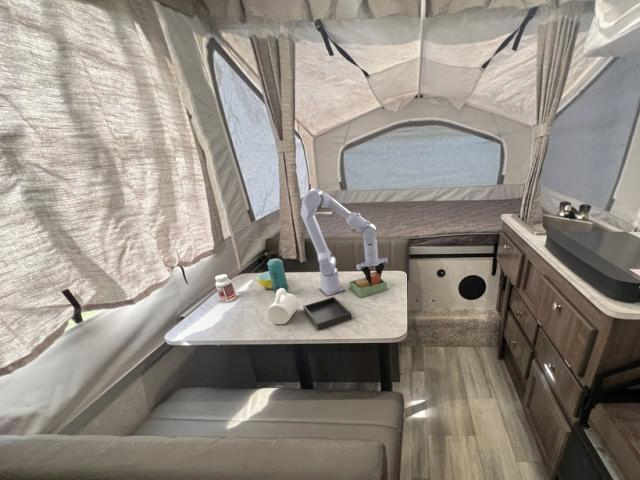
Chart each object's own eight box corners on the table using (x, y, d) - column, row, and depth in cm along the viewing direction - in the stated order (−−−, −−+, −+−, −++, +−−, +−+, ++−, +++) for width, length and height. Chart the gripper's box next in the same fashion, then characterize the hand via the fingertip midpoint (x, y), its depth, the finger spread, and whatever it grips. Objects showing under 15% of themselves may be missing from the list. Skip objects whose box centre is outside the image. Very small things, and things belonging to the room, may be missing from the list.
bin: (350, 288, 143) (349, 281, 141) (375, 281, 149) (375, 274, 147) (361, 297, 134) (360, 290, 133) (387, 289, 140) (386, 282, 139)
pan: (304, 311, 126) (303, 305, 125) (334, 301, 132) (334, 296, 131) (318, 330, 113) (317, 324, 112) (351, 318, 119) (351, 313, 118)
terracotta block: (367, 282, 143) (366, 273, 140) (376, 280, 145) (375, 271, 142) (372, 286, 139) (371, 276, 137) (380, 283, 141) (380, 274, 139)
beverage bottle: (277, 292, 143) (266, 250, 134) (291, 291, 144) (282, 249, 134) (273, 298, 137) (261, 255, 128) (288, 297, 138) (278, 254, 129)
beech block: (356, 289, 141) (355, 280, 138) (365, 286, 143) (364, 278, 140) (360, 292, 137) (359, 283, 135) (369, 290, 139) (368, 281, 137)
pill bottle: (237, 294, 143) (229, 272, 138) (235, 300, 138) (228, 277, 132) (222, 297, 141) (214, 275, 136) (220, 303, 136) (212, 280, 131)
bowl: (289, 284, 150) (286, 272, 147) (269, 294, 142) (266, 281, 139) (274, 280, 156) (271, 268, 153) (254, 289, 147) (250, 277, 144)
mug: (270, 324, 118) (262, 296, 112) (281, 310, 127) (274, 284, 121) (291, 324, 117) (284, 296, 111) (301, 311, 126) (295, 284, 121)
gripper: (360, 258, 129) (363, 288, 135) (390, 251, 135) (392, 279, 142) (353, 254, 134) (356, 282, 140) (382, 247, 141) (384, 274, 147)
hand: (373, 280), depth 141 cm, fingers closed on terracotta block, 4 cm apart
